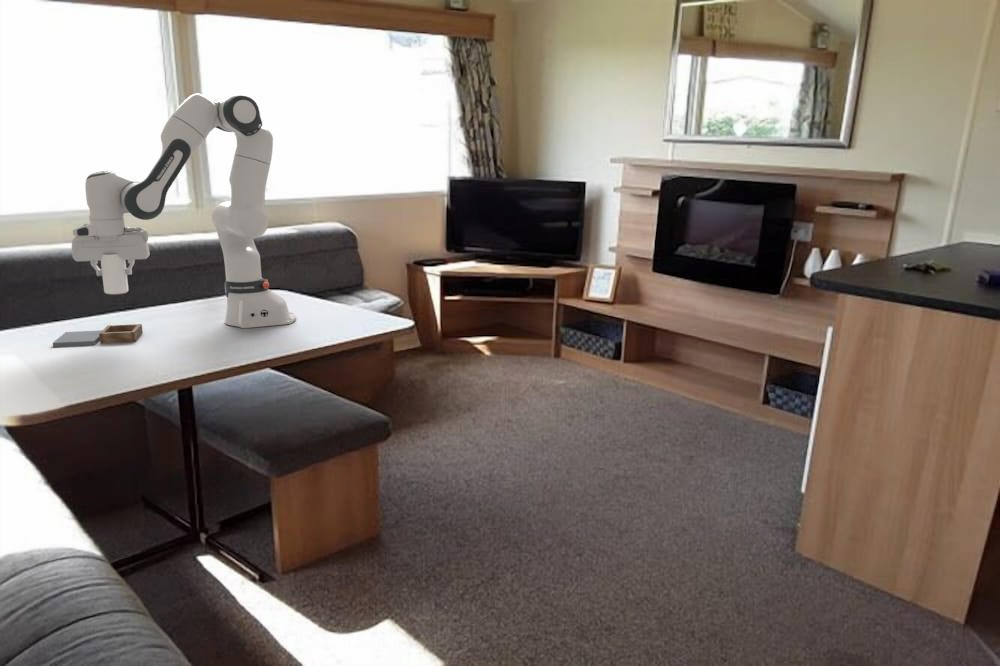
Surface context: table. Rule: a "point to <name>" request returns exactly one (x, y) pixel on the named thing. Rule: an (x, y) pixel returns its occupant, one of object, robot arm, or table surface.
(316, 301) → the table surface
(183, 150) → the robot arm
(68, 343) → the coaster
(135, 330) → the square wooden frame
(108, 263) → the can
